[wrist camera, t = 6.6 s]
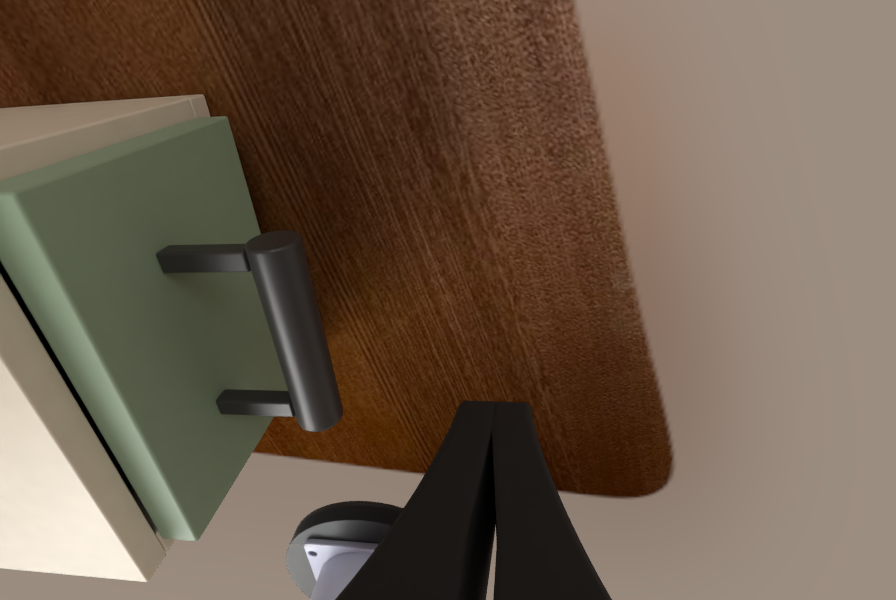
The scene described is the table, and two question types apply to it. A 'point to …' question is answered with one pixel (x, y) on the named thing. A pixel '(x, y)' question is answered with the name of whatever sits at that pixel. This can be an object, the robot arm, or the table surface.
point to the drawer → (168, 311)
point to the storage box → (45, 392)
